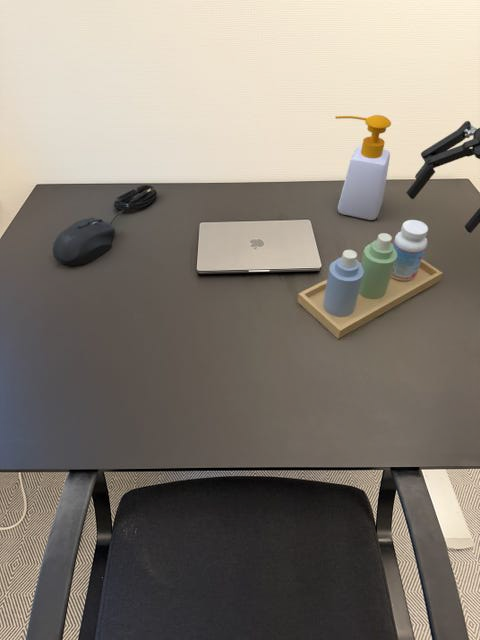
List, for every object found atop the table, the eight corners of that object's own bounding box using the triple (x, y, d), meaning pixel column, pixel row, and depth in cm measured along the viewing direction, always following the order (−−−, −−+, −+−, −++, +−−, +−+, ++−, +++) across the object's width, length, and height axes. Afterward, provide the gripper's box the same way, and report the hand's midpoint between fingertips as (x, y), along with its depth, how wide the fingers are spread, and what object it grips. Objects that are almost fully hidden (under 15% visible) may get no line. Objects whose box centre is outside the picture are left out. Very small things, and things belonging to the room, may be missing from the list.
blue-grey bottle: (358, 300, 90) (372, 249, 81) (348, 321, 87) (361, 269, 77) (329, 291, 92) (339, 239, 83) (318, 310, 88) (327, 258, 79)
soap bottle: (327, 191, 118) (341, 101, 102) (382, 202, 115) (406, 110, 99) (317, 211, 112) (330, 118, 96) (375, 223, 109) (399, 129, 93)
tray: (396, 251, 102) (398, 243, 100) (439, 281, 95) (442, 272, 94) (297, 301, 91) (298, 293, 89) (338, 339, 85) (340, 330, 83)
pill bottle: (417, 283, 94) (434, 237, 85) (386, 280, 94) (400, 235, 86) (414, 264, 98) (430, 218, 90) (384, 261, 98) (397, 216, 90)
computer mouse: (46, 262, 99) (38, 241, 95) (134, 188, 119) (130, 168, 115) (82, 275, 96) (75, 254, 92) (166, 197, 116) (163, 177, 112)
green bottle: (389, 284, 93) (405, 232, 84) (381, 302, 90) (397, 251, 81) (360, 274, 95) (373, 223, 86) (351, 292, 92) (363, 241, 83)
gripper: (586, 151, 80) (497, 252, 85) (464, 102, 94) (394, 191, 99) (587, 128, 74) (491, 238, 79) (456, 79, 88) (382, 175, 93)
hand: (437, 212), depth 89 cm, fingers open, 13 cm apart
